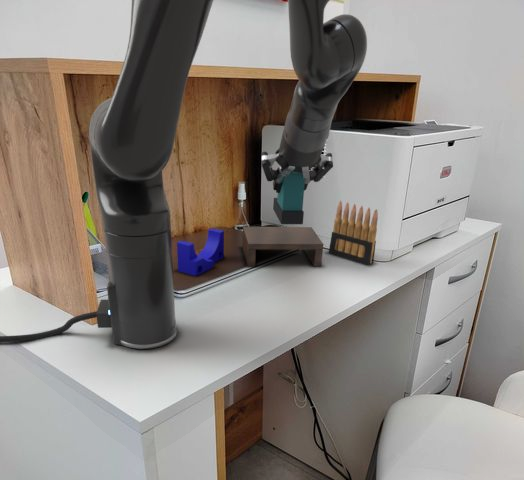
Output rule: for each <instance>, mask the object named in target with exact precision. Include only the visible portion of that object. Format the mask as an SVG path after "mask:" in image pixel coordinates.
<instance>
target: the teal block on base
mask: <svg viewBox="0 0 524 480" xmlns="http://www.w3.org/2000/svg"><path fill="white" fill-rule="evenodd" d="M304 185H305V179H303V173H297V172H293V173H290V174H289V175H288V177H287V178H284V179H283V181H282V186H281V190H280V193H277V197H273V202H272V203H273V205H272V207H273V208H272V210H273V211H274V214H275V215H276V217H277V219H278V221H279V224H280V225H303V224H304V215H305V212H304V210H303V209H304V196H305V191H304Z"/></svg>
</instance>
